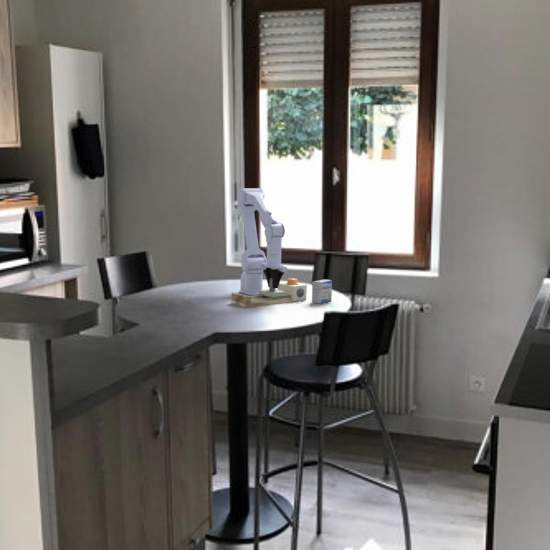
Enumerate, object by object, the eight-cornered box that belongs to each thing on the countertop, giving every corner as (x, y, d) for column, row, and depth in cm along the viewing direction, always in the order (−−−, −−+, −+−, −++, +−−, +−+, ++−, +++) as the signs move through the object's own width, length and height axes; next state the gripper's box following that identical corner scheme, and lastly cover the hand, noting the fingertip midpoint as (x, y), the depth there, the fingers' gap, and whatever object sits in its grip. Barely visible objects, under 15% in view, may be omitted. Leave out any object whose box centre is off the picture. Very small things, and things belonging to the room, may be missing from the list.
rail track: (231, 303, 292) (232, 293, 291) (277, 297, 306) (277, 287, 306) (247, 307, 284) (247, 297, 283) (293, 301, 299) (293, 291, 298)
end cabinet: (277, 297, 306) (277, 282, 305) (290, 295, 311) (290, 281, 310) (293, 301, 298) (294, 286, 297) (306, 299, 303) (307, 285, 302)
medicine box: (320, 304, 294) (321, 282, 293) (311, 302, 297) (312, 281, 296) (331, 301, 301) (332, 280, 299) (322, 299, 303) (323, 278, 302)
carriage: (259, 294, 299) (259, 277, 297) (272, 292, 303) (273, 276, 302) (271, 297, 292) (272, 280, 291) (285, 295, 297) (285, 279, 296)
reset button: (285, 292, 304) (285, 278, 304) (292, 291, 307) (292, 277, 306) (291, 294, 301) (291, 280, 300) (298, 293, 304) (299, 279, 303)
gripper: (254, 252, 298) (254, 285, 300) (277, 256, 287) (276, 291, 289) (268, 251, 303) (267, 284, 305) (291, 255, 292) (290, 289, 294)
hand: (273, 287), depth 297 cm, fingers closed on carriage, 2 cm apart
